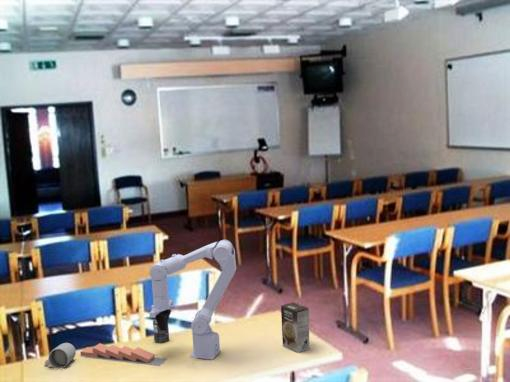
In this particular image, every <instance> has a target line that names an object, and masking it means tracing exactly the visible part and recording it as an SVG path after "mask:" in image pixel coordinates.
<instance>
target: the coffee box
mask: <svg viewBox="0 0 510 382" xmlns="http://www.w3.org/2000/svg"><path fill="white" fill-rule="evenodd" d="M309 309H310V308H309V307H307V306H305V305H302V304H299V303H296V302H293V301H292V302H290V303H285V304H282V305H280V310H281V311H280V313H281V314H280V315H281V316H280V317H281V334H282V338H281V339H282V347H284V348H285V349H286V348H287V349H288V350H290V349H291V351H292V350H293V352H295V353H297V352H299V353H302V352H304V350H305V351H308V350H310V349H309V348H311V347H310V343H311V342H310V318H309V317H310V313H309V311H310V310H309ZM301 351H302V352H301Z"/></svg>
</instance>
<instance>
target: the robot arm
mask: <svg viewBox="0 0 510 382" xmlns="http://www.w3.org/2000/svg"><path fill="white" fill-rule="evenodd" d="M204 258H207V259H210V260H213V259H214V260H215V261H216V262H217V263H218V265H219V266H220V269H221V272H220V274H219V276H218V277H217V280H216V282H215V284H214V285H213V287H212V290H211V291H210V292H209V295H208V297H207V299H206V300H205V302H204V304H203V305H202V307H201V309H200V310H198V311H197V312H196V313H195V314H194V318H193V320H192V322H191V324H190V329H191V334H192V346H193V352H192V353H190V355H189V358H195V359H204V360H214V359H215V358H216V357H217V356H218V355H219V353H221V352H222V350H221V349H220V348H221V347H220V346H221V345H220V336H219V333H218V332H216V331H214V330H213V329H212V327H211V325H210V324H211V321H212V316H213V315H214V312H215V311H216V309H217V307H218V305H219V303H220V302H221V300H222V297H223V295H224V293H225V292H226V290H227V288H228V287H229V284H230V283H231V280H233V278H234V275H235V273H236V271H237V261H236V250H235V248H234V246H233V243H232V242H231V241H230V240H228V239H222V240H220V241H214V242H212V243H210V244H207V245H205V246H202V247H200V248H198V249H195V250H194V251H191V252H189V253H187V254H185V255H183V254H180V253H177V254H176V253H174V254H172V255H171V257H168V258H166V259H160V261H157V262H155V263H154V264H153V265H152V266H151V267H150V269H149V273H148V274H149V276H150V278H151V288H152V289H151V291H152V301H153V304H152V305H151V307H150V308H151V311H149V315H148V316H149V318H150V319H151V318H154V319H156V321H157V323H158V326H159V328H160V330H163V331H165V330H166V329H167V323H168V324H169V318H170V315H171V314H172V309H170V308H171V306H172V307H173V306H174V300H173V299H169V298H170V296H169V295H170V294H169V286H168V284H169V283H168V282H169V281H168V276H169V275H172V274H174V273H178V272H180V271H181V270H184V269H186V267H187V265H188V264H190V263H193V262H197V261H199V260H201V259H204Z"/></svg>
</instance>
